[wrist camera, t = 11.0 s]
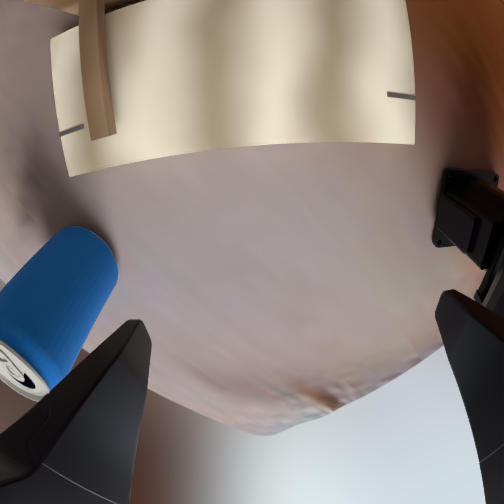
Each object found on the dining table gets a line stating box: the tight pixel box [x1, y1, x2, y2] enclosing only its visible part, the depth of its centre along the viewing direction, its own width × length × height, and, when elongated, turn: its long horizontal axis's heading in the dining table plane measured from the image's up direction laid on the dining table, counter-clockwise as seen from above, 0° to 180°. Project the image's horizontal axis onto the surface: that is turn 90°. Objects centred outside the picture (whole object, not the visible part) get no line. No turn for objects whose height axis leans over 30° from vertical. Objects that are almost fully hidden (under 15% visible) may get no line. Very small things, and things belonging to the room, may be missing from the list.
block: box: [22, 0, 135, 141], centre depth 10 cm, size 4×12×7 cm, turn 5°
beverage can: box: [0, 226, 118, 402], centre depth 15 cm, size 6×6×12 cm
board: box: [50, 0, 416, 177], centre depth 13 cm, size 22×10×2 cm, turn 95°
